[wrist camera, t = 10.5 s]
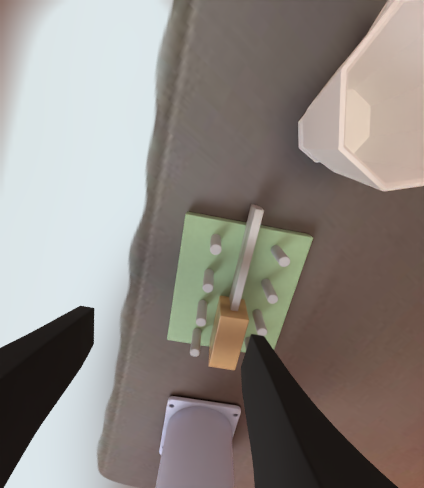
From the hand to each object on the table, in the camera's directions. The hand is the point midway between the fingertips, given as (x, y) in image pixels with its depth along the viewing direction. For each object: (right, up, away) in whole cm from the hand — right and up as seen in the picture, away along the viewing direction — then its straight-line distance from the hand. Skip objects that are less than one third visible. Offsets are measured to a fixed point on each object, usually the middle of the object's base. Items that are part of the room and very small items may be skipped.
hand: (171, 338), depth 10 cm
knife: (+4, 0, +9) cm, 9 cm away
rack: (+4, 0, +10) cm, 10 cm away
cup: (+10, +14, +5) cm, 18 cm away
